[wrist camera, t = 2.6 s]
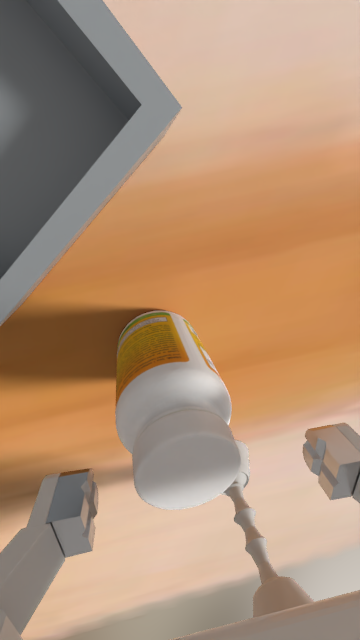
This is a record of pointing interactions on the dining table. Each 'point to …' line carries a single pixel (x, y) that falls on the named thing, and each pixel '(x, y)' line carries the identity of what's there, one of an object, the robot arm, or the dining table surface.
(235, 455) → the supplement bottle
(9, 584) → the robot arm
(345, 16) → the dining table surface
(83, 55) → the tray
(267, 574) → the chalice
